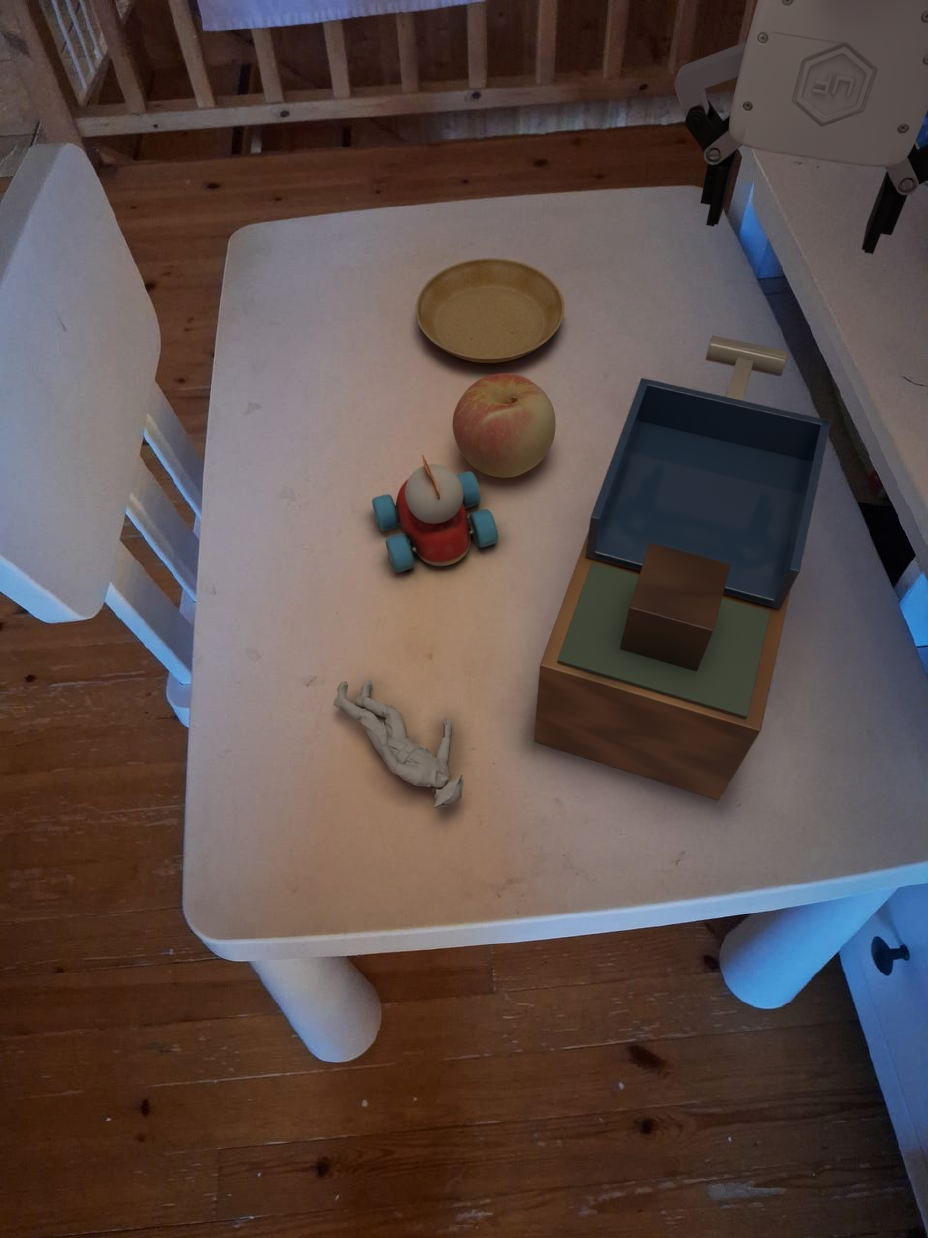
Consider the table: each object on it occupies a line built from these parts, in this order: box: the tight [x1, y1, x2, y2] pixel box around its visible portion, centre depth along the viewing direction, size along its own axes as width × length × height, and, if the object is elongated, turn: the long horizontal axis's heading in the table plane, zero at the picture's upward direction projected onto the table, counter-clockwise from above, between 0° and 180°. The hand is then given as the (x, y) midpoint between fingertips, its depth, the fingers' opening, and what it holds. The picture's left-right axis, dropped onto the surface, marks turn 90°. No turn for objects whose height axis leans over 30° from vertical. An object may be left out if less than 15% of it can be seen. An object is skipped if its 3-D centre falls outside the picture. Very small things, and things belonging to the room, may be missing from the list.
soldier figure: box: [333, 679, 465, 810], centre depth 66 cm, size 8×5×12 cm
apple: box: [451, 372, 557, 479], centre depth 79 cm, size 9×9×8 cm
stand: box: [533, 530, 791, 801], centre depth 67 cm, size 14×23×12 cm, turn 160°
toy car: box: [371, 454, 499, 573], centre depth 74 cm, size 9×9×10 cm
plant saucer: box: [415, 257, 565, 364], centre depth 90 cm, size 15×15×3 cm
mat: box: [557, 563, 770, 719], centre depth 58 cm, size 12×8×1 cm, turn 70°
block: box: [620, 543, 730, 671], centre depth 56 cm, size 5×5×5 cm
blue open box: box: [585, 335, 832, 609], centre depth 63 cm, size 13×19×5 cm
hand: (791, 226), depth 57 cm, fingers open, 9 cm apart
